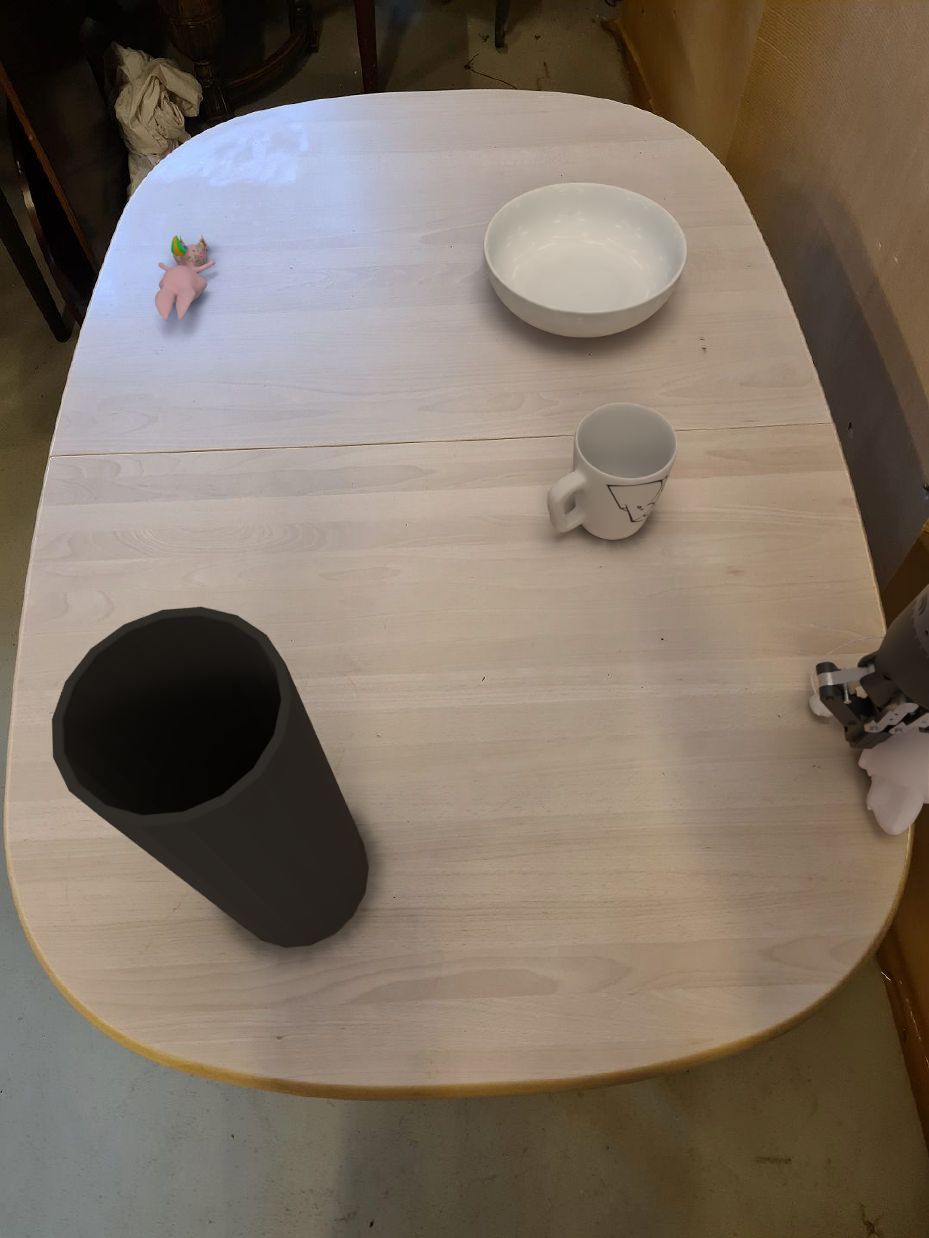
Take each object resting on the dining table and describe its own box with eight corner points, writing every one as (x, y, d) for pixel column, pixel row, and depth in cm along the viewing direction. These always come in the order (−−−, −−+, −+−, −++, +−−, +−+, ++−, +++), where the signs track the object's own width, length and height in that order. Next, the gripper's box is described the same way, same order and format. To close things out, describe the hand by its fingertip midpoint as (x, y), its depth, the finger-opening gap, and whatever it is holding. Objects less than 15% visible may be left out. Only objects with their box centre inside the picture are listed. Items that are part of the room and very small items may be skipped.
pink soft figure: (171, 262, 99) (147, 335, 90) (155, 211, 94) (128, 282, 85) (225, 260, 99) (207, 333, 90) (212, 208, 95) (191, 279, 85)
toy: (809, 720, 73) (891, 870, 62) (790, 663, 69) (875, 812, 57) (948, 669, 71) (1061, 815, 59) (937, 605, 66) (1058, 750, 55)
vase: (225, 953, 60) (31, 835, 34) (232, 812, 65) (68, 616, 39) (371, 940, 60) (290, 813, 34) (367, 801, 65) (293, 598, 39)
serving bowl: (713, 292, 93) (729, 237, 87) (591, 397, 86) (599, 344, 80) (566, 211, 100) (572, 155, 94) (442, 301, 93) (440, 246, 87)
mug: (571, 581, 75) (582, 512, 66) (519, 515, 79) (524, 441, 70) (675, 525, 78) (699, 452, 69) (620, 464, 81) (637, 387, 73)
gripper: (875, 679, 47) (773, 777, 62) (1121, 697, 47) (957, 792, 62) (856, 563, 51) (764, 683, 66) (1084, 579, 50) (938, 696, 65)
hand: (858, 736), depth 64 cm, fingers closed
